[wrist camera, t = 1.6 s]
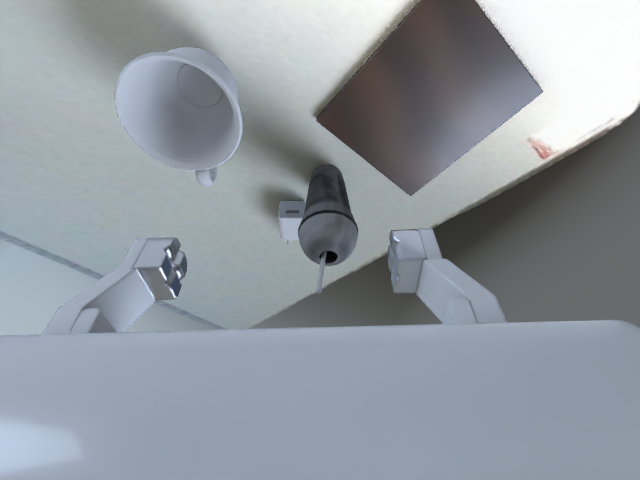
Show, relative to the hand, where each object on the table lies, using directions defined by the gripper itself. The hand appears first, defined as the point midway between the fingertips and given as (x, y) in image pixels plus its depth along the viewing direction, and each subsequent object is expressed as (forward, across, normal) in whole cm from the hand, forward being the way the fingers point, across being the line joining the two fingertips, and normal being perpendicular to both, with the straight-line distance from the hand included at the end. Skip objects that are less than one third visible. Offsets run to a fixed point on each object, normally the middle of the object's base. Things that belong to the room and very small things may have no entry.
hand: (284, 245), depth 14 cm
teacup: (+34, +12, +7) cm, 37 cm away
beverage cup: (+34, -1, +20) cm, 39 cm away
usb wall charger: (+34, +4, +27) cm, 44 cm away
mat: (+34, -14, +9) cm, 38 cm away
